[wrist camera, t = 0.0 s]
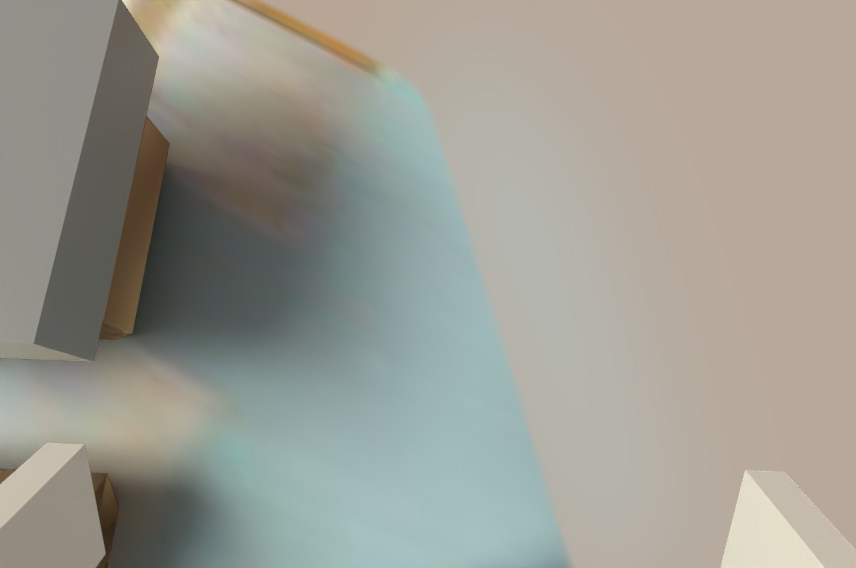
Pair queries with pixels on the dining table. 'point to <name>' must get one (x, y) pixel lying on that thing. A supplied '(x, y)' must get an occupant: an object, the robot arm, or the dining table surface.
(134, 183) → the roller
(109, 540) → the loose roller
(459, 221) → the dining table surface
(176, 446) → the dining table surface
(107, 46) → the slab
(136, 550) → the dining table surface
